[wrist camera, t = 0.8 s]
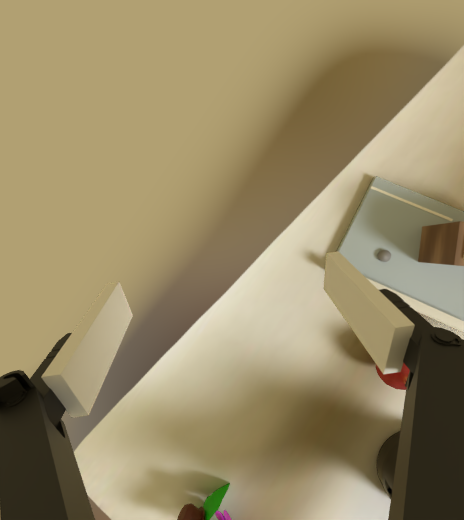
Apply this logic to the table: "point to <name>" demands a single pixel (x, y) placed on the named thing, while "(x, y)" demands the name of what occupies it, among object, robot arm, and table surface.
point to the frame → (442, 244)
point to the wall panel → (405, 250)
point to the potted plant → (206, 508)
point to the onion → (395, 377)
